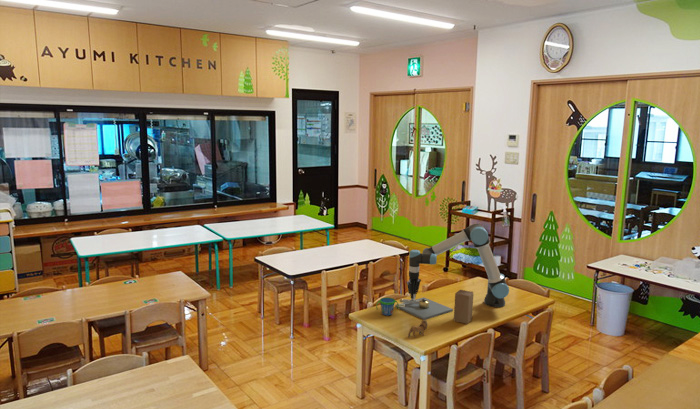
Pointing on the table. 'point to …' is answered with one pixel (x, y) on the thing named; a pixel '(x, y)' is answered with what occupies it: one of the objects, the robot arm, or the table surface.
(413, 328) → the lion figurine
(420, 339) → the table surface
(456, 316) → the wooden block
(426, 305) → the brass ladle
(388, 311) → the snack cup
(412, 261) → the robot arm
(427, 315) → the dial plate
